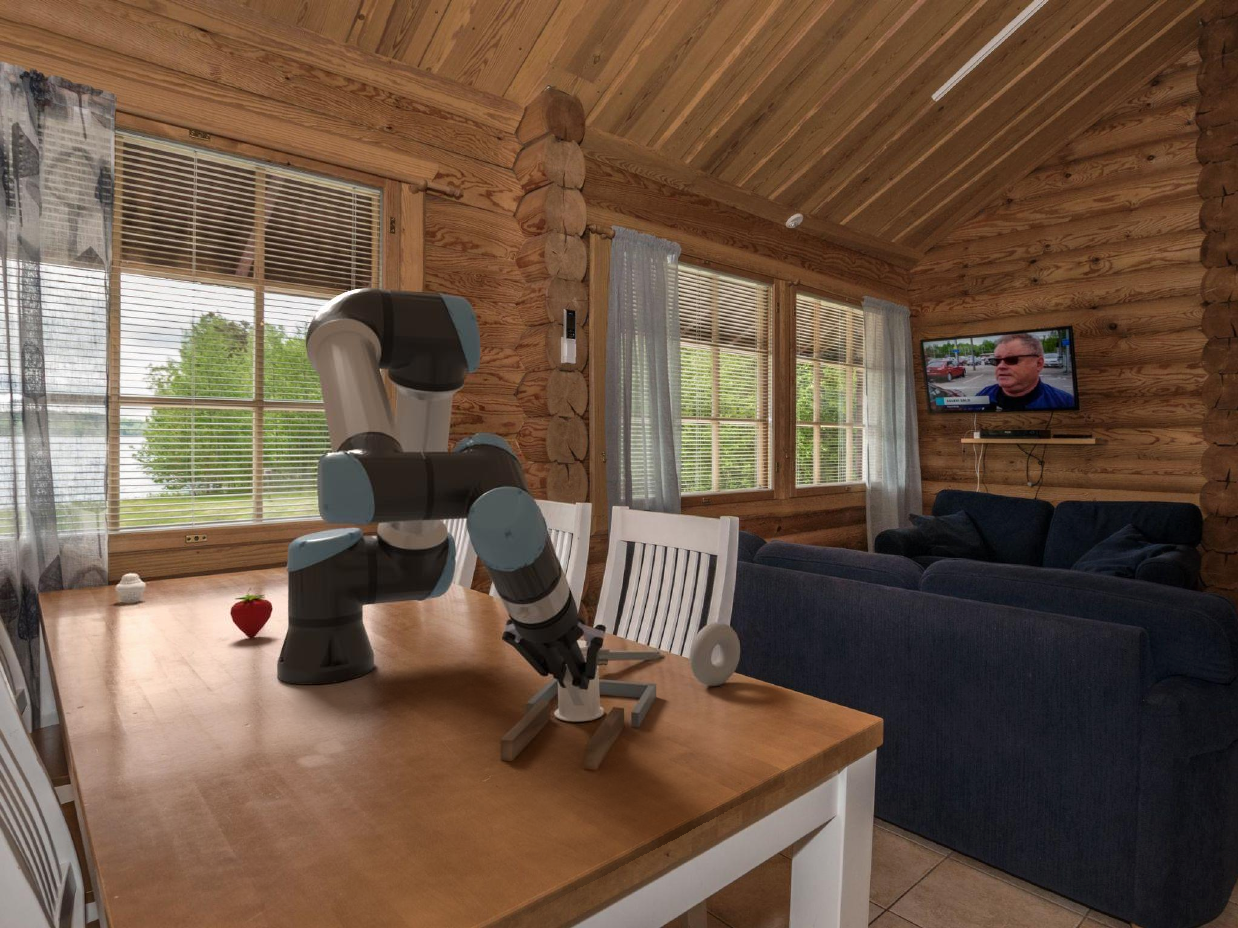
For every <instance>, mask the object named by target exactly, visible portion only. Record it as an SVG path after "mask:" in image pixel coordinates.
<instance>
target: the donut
mask: <svg viewBox="0 0 1238 928" xmlns="http://www.w3.org/2000/svg"><path fill="white" fill-rule="evenodd" d="M740 643H741V642H740V640H739V637H738V634H737V632H736V631H735V630H734V629H733V627H732V626H730V625H729V624H727V623H724V622H721V621H719V622H718V621H717V622H715V621H714V622H711V623H709V624H706V625H704V626H703V627H702V628H701V629H700V630H699V631H698V632H697V634H696V635H695V637H694V639H693V641H692V645H691V647H690V651H689V652H690V653H689V663H690V664H689V665H690V669H691V671H692V673H693V676H694V677H695V678H696V679H697V680H698V682H699V683H700V684H703V685H706V686H708V687H715V686H720V685H722V684H724V683H726V682H727V681H728V680H729V679H730V678H731V677H732V676H733V675H734V673H735V671H736V670H737V668H738V665H739V662H740V655H741V645H740ZM716 646H719V648H718V649H719V651H718V655H717V658H716V660H715V661H714V662H712V657H713V652H714V649H715V647H716Z"/></svg>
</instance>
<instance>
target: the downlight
mask: <svg viewBox="0 0 1238 928" xmlns="http://www.w3.org/2000/svg"><path fill="white" fill-rule="evenodd" d="M577 642H578V645H579V647H580V650H581V652H582V655H583V657H584V659H585V662H586V656H587V649H588V647H587V646H586V641H585V640H580V639H578V640H577ZM566 666H567V664H566ZM599 670H600V667H599V665H597V669H596V674H595V679H593V680H590V681H589V686H588V692H587V697H586V701H585V706H581V705H574V704H573V702H572V699H571V697H570V695H569V693H568V691H567V689H566V688H562V687H561V686H560V684H559V682H558V693H557V700H558V701H557V704H558V705H557V707H558V708H557V709H555V710H554V713H553V714H554V717H555V718H556V719H559V720H561V721H565V722H587V721H594V720H596V719H598V718H600V717H603V715H604V714H605V709H604V708H603V707H601V705H600V701H601V700H600V694H599V679H600V673H599V672H600V671H599Z"/></svg>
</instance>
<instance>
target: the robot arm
mask: <svg viewBox="0 0 1238 928" xmlns="http://www.w3.org/2000/svg"><path fill="white" fill-rule="evenodd" d="M480 335H481V334H480V329H479V323H478V318H477V315H476V312H475V310H474V308H473V306H472V304H471V303H470V302H469V300H467V299H466V298H464V297H462V296H457V295H450V294H444V293H442V292H438V293H437V292H427V291H426V292H424V291H410V290H408V291H407V290H394V289H392V290H391V289H383V288H382V289H379V288H376V287H375V288H373V287H365V288H357V289H353V290H350V291H347V292H344V293H342V294H340V295H338V296H335V297H334V298H332V299H331V300H330V301H328V302H327V303H325V304H324V305H323V306H322V307H321V308H320V309H319V310H318V311H317V313H316V314H315V315H314V316H313V318H312V320H311V322H310V324H309V326H308V328H307V332H306V336H305V348H306V355H307V359H308V362H309V364H310V367H312V369H313V370H314V371H315V372H316V374H318V377H319V378H318V379H319V383H320V389H321V395H322V401H323V407H324V413H325V417H326V418H325V419H326V423H327V430H328V436H329V442H330V447H331V452H327V453H324V454H322V455H321V456H320V458H319V459H318V463H317V470H316V471H317V474H316V476H317V477H316V479H317V482H316V488H317V489H316V491H317V492H316V493H317V503H318V504H317V505H318V512H319V513H318V514H319V515H320V518H321V519H322V520H323V521H324V522H326V523H327V524H332V525H333V524H334V525H337V524H338V525H339V524H340V525H341V524H343V525H344V524H346V525H347V524H348V525H350V524H353V525H354V524H355V525H357V526H364V525H365V526H366V525H370V524H371V525H373V524H375V525H376V524H378V526H377V529H376V530H377V533H376V535H364V533H363V532H362V529H361V528H359V527H346V528H335V529H334V528H333V529H328V530H323V531H317V532H312V533H309V534H305V535H302V536H300V537H297V538H295V539H294V540H293V541H292V540H291V541H292V542H290V544H289V545H288V547H287V565H286V567H285V569H286V572H287V622H288V625H287V632H286V635H285V638H284V640H283V644H282V647H281V650H280V653H279V657H278V659H277V664H276V673H277V674H276V676H277V678H278V680H280V681H282V682H285V683H290V684H297V685H320V684H323V685H324V684H333V683H337V682H342V681H343V682H344V681H347V680H351V679H355V678H358V677H361V676H363V675H366V674H368V673H369V672H371V671H372V670H374V667H375V653H374V650H373V648H372V644H371V641H370V638H369V635H368V632H367V630H366V627H365V624H364V617H363V615H364V611H363V608H364V607H363V606H366V605H376V604H377V605H379V604H387V603H389V604H390V603H397V602H410V601H418V602H422V601H426V600H427V599H429V600H430V599H435V598H440V597H441V596H443V595H445V594H446V593H447V592H448V591H449V590H450V588H451V586H452V584H453V581H454V577H455V574H456V573H455V572H456V565H457V561H456V556H457V547H456V542H455V538H454V536H453V534H452V533H450V532H449V531H448V527H447V525H446V524H445V523H444V522H443V520H445V521H446V520H462V519H463V520H464V519H465V520H466V523H465V524H466V530H467V532H468V535H469V539H470V542H471V546H472V548H473V550H474V552H475V554H476V556H477V557H478V558H479V559H480V560H481V561H480V562H482V564H483V567H484V569H485V570H486V573H487V574H488V576H489V578H490V579H491V582H492V584H493V585H494V588H495V590H496V592H497V594H498V596H499V597H500V600H501V602H502V603H503V606H504V609H505V610H506V611H507V614H508V617H509V619H507V620H506V624H505V626H504V629H503V633H502V636H501V639H502V641H504V642H505V643H507V644H509V645H510V646H512V647H513V648H514V649H515V650H516V651H517V652H518V653H519V654H520V655H521V656H522V657H523V658H524V660H526V661H527V663H528V664H529V665H530V666H531V667H532V668H533V669H534V670H535V672H536V673H537V674H539V675H540V676H541V677H548V676H549V675H552V678H553V677H554V678H555V679H557V680H558V682H559V684H560V686H561V687H562V688H566V689H567V691H568V693H569V695H570V697H571V699H572V702H573V704H574V705H581V706H585V701H586V697H587V692H588V686H589V681H590V680H593V679H595V674H596V669H597V666H599V665H598V658H599V649H600V648H603V644H604V641H605V636H606V631H607V630H606V629H607V627H606V625H603V624H596V625H595V627H593V626H588V625H586V620H585V619H584V618H582V616H580V615H579V613H578V607H577V604H576V601H575V598H574V596H573V593H572V589H571V588H570V586H569V582H568V579H567V577H566V575H565V572H564V570H563V567H562V564H561V562H560V560H559V558H558V556H557V553H556V550H555V547H554V544H553V542H552V538H551V536H550V533H549V530H548V525H547V521H546V518H545V517H544V515H543V513H542V510H541V508H540V506H539V505H538V504H537V502H536V500H535V498H534V496H533V494H532V493H531V490H530V487H529V484H528V481H527V479H526V476H525V474H524V469H523V466H522V464H521V462H520V460H519V459H518V456H517V454H516V453H515V451H514V450H513V448H512V446H511V445H510V444H509V442H507V440H506V439H505V438H503V437H502V436H500V435H498V434H495V433H491V432H479V433H475V434H473V435H471V436H469V437H464V438H463V439H461V440H460V441H459V442H458V443H457V444H456V445H455V446H454V448H453V450H452V451H448V445H449V437H450V436H449V435H450V427H451V419H452V418H451V417H452V416H451V415H452V407H453V400H454V399H453V398H454V395H455V394H456V393H457V392H458V391H460V390H462V389H463V388H464V386H465V379H466V374H469V375H471V374H472V373H475V372H477V371H478V369H479V365H480V362H481V337H480ZM381 370H387V379H388V381H389V382H390V383H391V384H392V385H393V386H394V387H395V388H396V398H395V399H396V401H395V402H396V403H395V412H394V413H393V410H392V406H391V404H390V400H389V397H388V396H389V395H388V392H387V389H386V386H385V383H384V379H383V376H382V372H381ZM582 637H584V640H583V641H586V646H587V647H588V649H587V656H586V662H585V659H584V657H583V655H582V652H581V650H580V647H579V645H578V642H577V641H578V640H580V639H581V638H582ZM566 664H567V666H566Z"/></svg>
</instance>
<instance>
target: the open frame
mask: <svg viewBox="0 0 1238 928" xmlns="http://www.w3.org/2000/svg"><path fill="white" fill-rule="evenodd" d="M556 695H558V680H557V679H555V678H554V677H553V676H552V678H551V679H550V680H549V681H548V682H547V683H546V684H545V685H544V686H543V687H542V688H541V689H539V690H538V692H536V693H535V694H534V695H533V696H532V697H531V698H530V699H529V700H528V701H526V705H525V707H526V709H525V710H526V713H525V715H526V714H527V713H528V712H529V711H530V710H531V709H532V708H533V707H534V706H535V705H536V704H537V703H538V702H539V701H549V702H551V700H552V699H553V698H554V697H555V696H556ZM601 695H602V696H614V697H615V696H616V697H627V698H636V699H637V698H639V699H638V701H637V702H636V704H635V706H634V707H633V709H632V711H631V714H630V715H631V718H630V721H631V722H630V723H631V725H630V726H631V728H636V729H637V728H639V727H640V726H641V724H642V722H644V721H643V720H644V719H645V717H646V716H647V713H648V712H649V710H650V709H651V706H652V705H653V703H654V702H655V700H656V699H657V683H653V682H652V683H650V682H638V681H625V680H616V679H615V680H614V679H603V678H602V679H600V678H599V696H601Z"/></svg>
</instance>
